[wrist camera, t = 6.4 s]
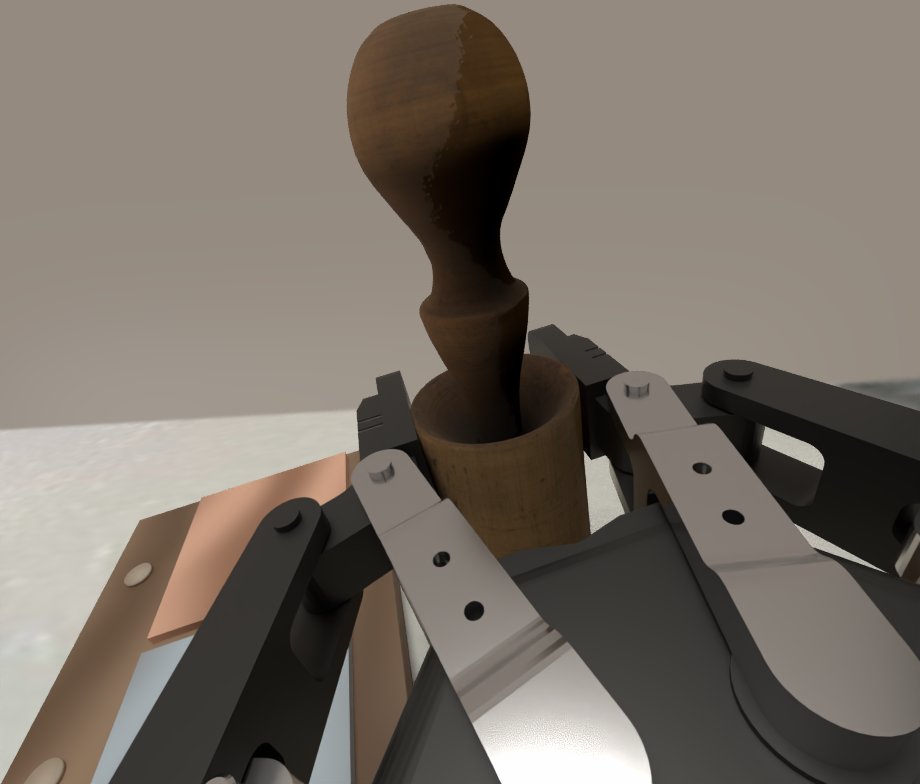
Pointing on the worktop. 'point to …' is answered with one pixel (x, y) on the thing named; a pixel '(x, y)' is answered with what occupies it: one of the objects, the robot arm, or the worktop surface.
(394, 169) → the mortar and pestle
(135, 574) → the tile board
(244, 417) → the worktop surface
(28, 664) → the worktop surface
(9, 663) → the worktop surface
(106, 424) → the worktop surface
